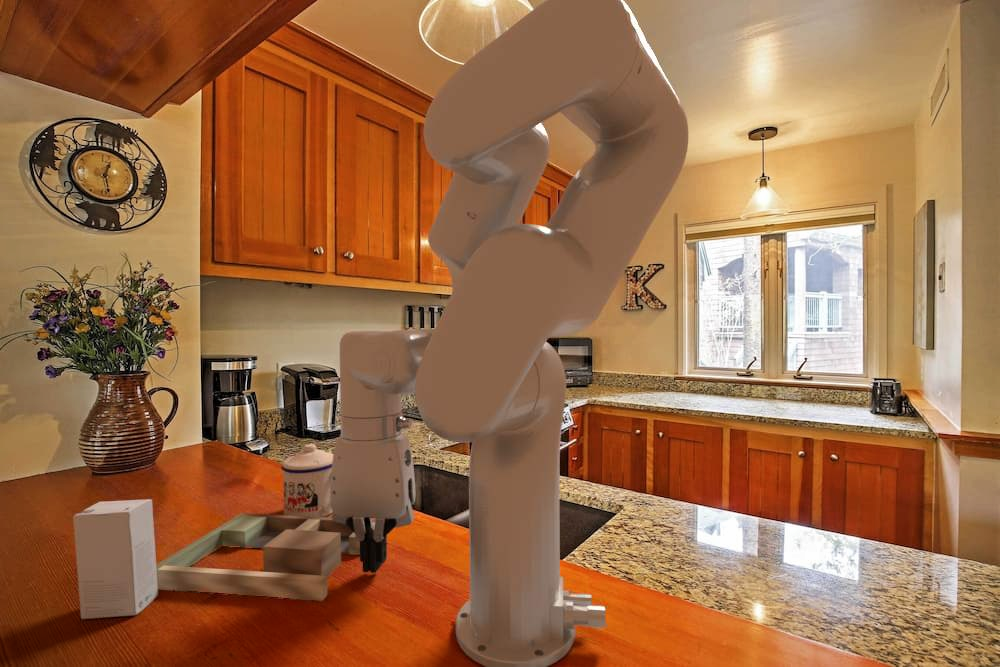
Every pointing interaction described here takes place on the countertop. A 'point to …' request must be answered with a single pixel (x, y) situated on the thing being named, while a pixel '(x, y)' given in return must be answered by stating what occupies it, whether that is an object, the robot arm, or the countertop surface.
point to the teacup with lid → (307, 483)
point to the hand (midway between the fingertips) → (373, 566)
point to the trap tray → (256, 535)
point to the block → (303, 552)
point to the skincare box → (115, 558)
